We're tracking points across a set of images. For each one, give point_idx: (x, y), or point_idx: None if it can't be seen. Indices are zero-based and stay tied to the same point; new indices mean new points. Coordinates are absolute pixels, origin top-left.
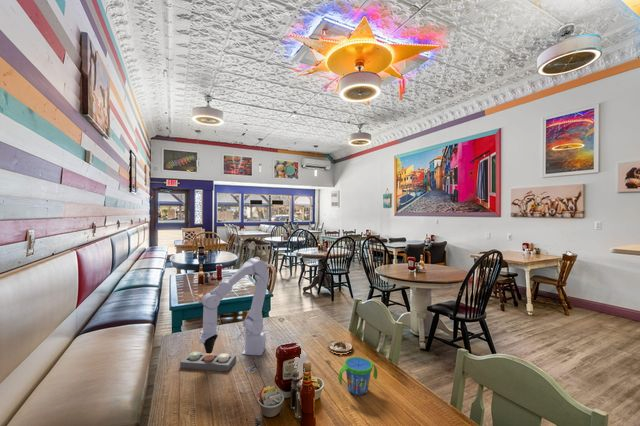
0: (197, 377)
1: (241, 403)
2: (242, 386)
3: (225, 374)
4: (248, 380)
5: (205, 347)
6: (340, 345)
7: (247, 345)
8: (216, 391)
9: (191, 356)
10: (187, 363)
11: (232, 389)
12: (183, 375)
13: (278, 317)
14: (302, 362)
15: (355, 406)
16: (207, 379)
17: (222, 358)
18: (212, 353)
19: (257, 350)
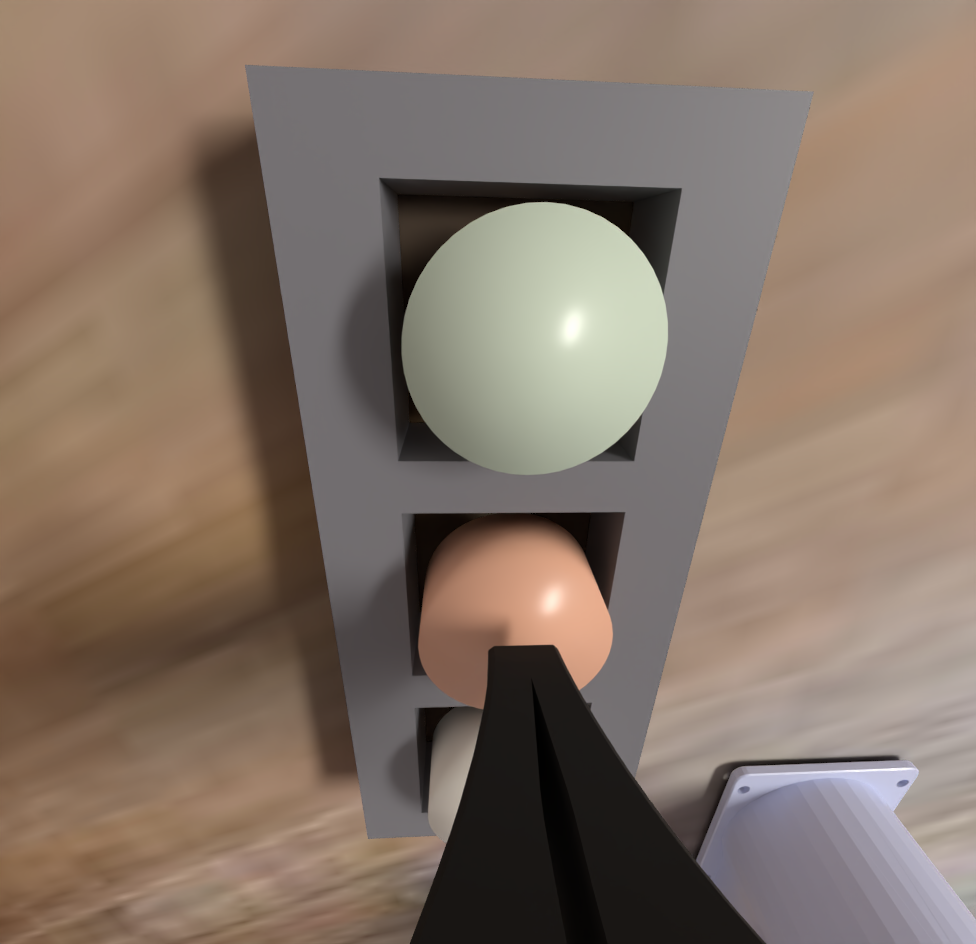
0: (151, 553)
1: (3, 940)
2: (191, 898)
3: (317, 764)
4: (284, 903)
5: (470, 784)
6: None
7: (792, 917)
8: (26, 796)
9: (404, 331)
10: (289, 289)
11: (121, 866)
12: (104, 335)
13: None
14: None
15: None
16: (164, 665)
17: (430, 823)
18: (572, 672)
19: (734, 905)
